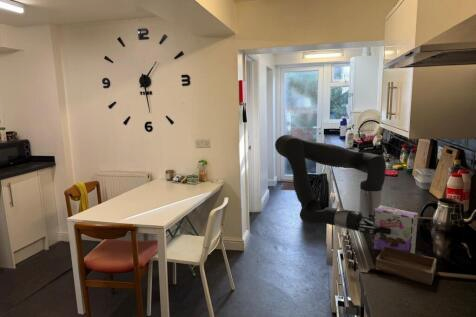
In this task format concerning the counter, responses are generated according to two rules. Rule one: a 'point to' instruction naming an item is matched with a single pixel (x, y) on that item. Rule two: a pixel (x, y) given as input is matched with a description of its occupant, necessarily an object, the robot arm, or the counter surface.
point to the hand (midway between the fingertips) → (392, 228)
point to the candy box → (395, 229)
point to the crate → (407, 265)
